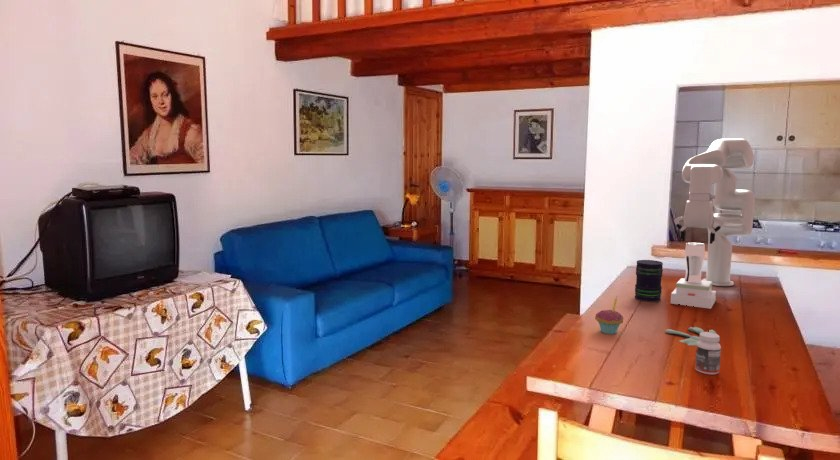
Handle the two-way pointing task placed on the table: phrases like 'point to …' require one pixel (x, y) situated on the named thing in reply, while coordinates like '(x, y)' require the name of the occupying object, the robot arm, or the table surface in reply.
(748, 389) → the table surface
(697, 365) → the pill bottle
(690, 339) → the green flat branched shape
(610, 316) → the cupcake
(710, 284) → the step stand
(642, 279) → the storage jar
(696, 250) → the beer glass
